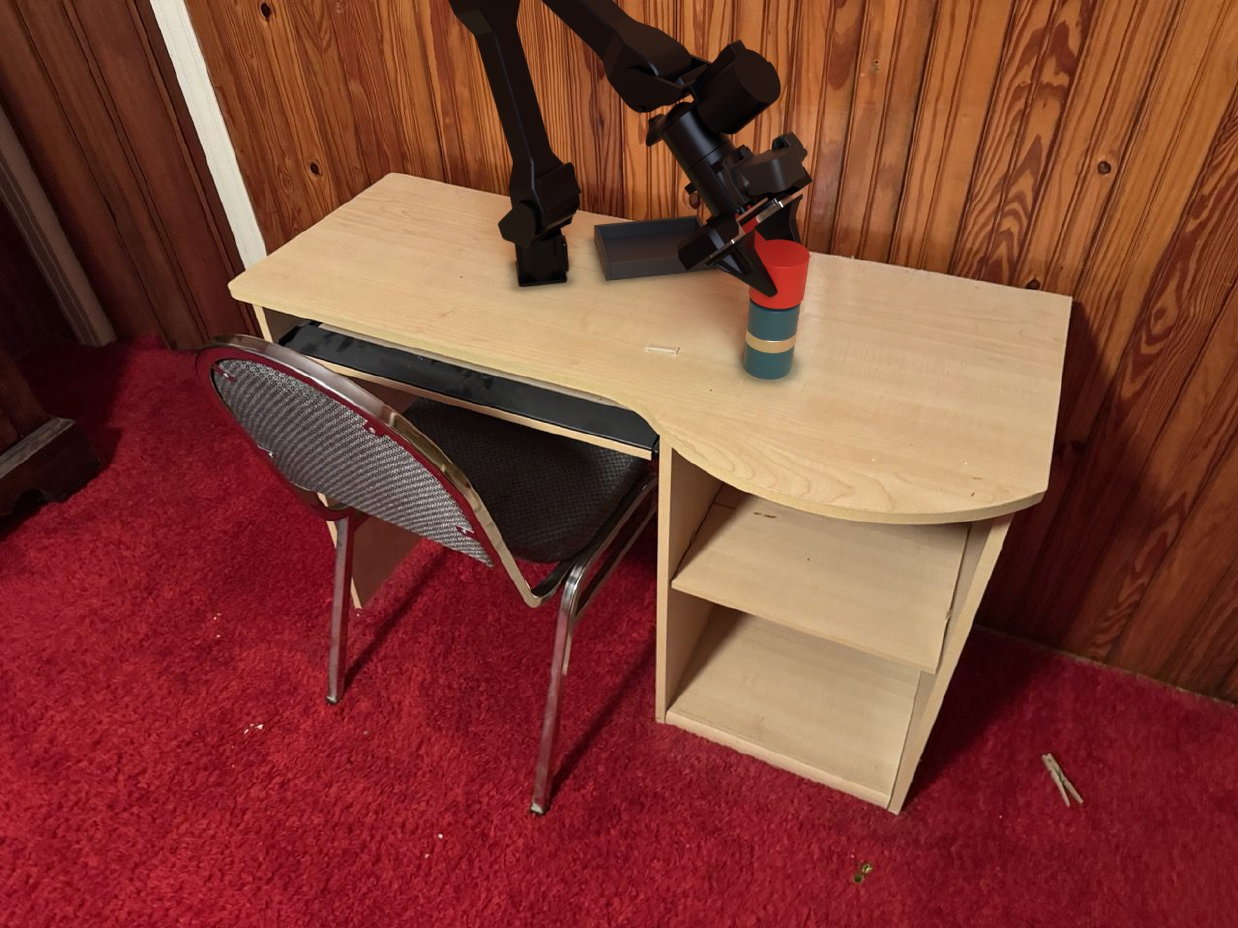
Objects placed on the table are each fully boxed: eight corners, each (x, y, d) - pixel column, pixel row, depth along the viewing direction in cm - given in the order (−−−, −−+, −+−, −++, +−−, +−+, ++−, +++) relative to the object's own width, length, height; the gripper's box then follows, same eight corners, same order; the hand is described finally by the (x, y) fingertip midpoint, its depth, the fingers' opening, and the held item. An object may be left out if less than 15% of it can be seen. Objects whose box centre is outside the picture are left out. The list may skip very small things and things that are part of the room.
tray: (606, 280, 116) (605, 264, 114) (594, 241, 124) (593, 224, 122) (717, 269, 117) (718, 253, 115) (698, 230, 125) (698, 214, 124)
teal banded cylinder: (750, 382, 99) (757, 315, 92) (737, 354, 103) (743, 287, 97) (798, 377, 99) (808, 309, 93) (783, 348, 103) (792, 282, 97)
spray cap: (757, 311, 92) (761, 270, 89) (742, 283, 96) (745, 242, 93) (811, 306, 93) (817, 264, 89) (794, 277, 97) (799, 236, 94)
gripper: (706, 146, 78) (799, 290, 81) (807, 86, 89) (887, 215, 91) (637, 204, 87) (723, 333, 90) (736, 144, 98) (810, 260, 100)
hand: (789, 283), depth 92 cm, fingers closed on spray cap, 6 cm apart
